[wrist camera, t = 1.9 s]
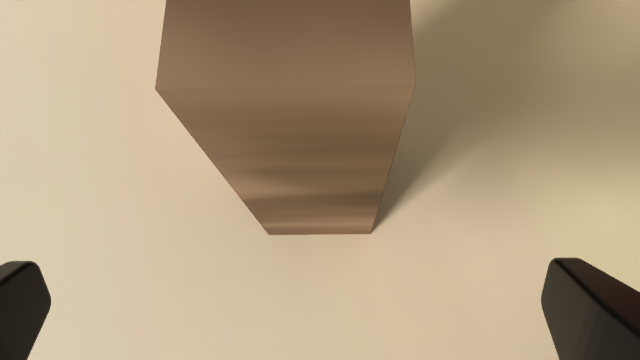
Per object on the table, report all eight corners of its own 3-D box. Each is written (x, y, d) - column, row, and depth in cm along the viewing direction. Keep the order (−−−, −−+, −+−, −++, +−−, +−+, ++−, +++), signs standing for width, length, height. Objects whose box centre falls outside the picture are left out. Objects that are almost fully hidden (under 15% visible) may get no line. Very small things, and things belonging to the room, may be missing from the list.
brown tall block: (370, 234, 20) (415, 82, 8) (268, 234, 20) (155, 89, 8) (367, 139, 21) (401, -116, 9) (272, 141, 22) (179, -107, 9)
